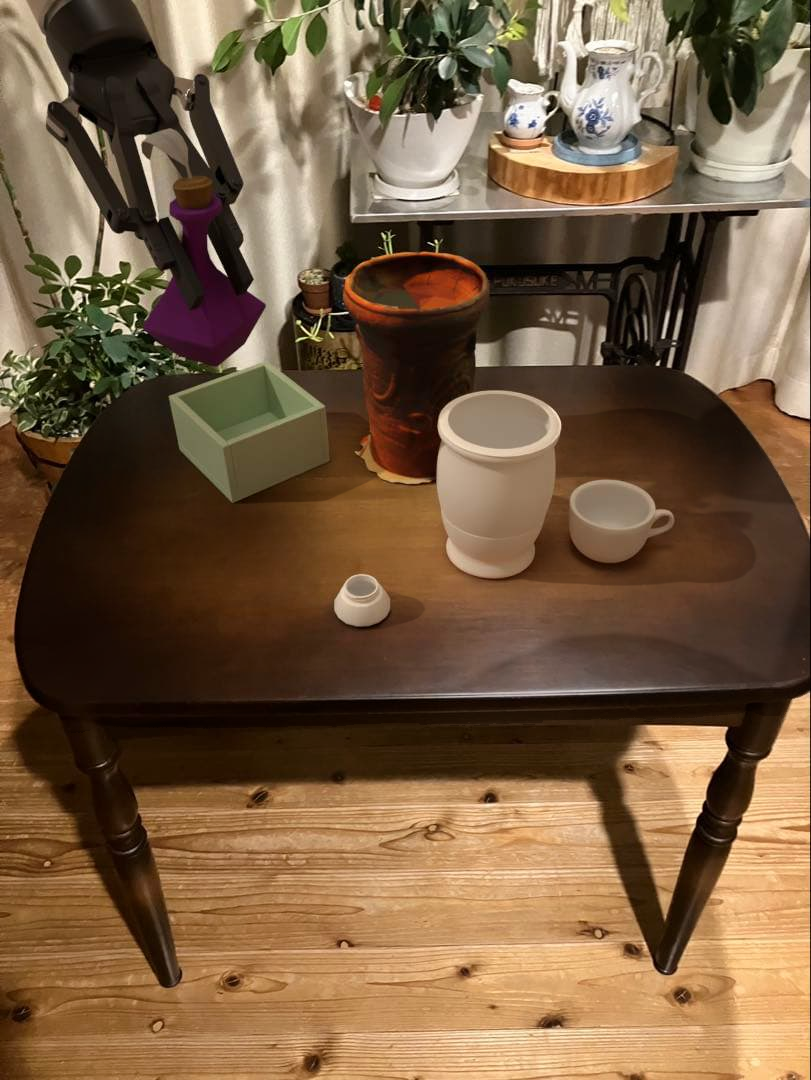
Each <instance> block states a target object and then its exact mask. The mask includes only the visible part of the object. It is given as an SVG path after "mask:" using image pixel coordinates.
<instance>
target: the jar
mask: <svg viewBox="0 0 811 1080" xmlns="http://www.w3.org/2000/svg"><path fill="white" fill-rule="evenodd" d="M561 430H562V422H561V418H560V416H559V415H558V413H557V412H556V410H555V409H553V407H551V406H550V405H549V404H547V403H546V402H544V401H543V400H541V399H538V398H536V397H534V396H532V395H528V394H526V393H522V392H516V391H510V390H496V389H495V390H492V389H491V390H482V391H473V393H470V394H467V395H464V396H461V397H459V398H456V399H455V400H453V401H451V402H450V403H448V404H447V405H446V406H445V407H444V408H443V409H442V411H441V413H440V415H439V419H438V432H439V435H440V437H441V439H442V441H441V444H440V448H439V453H438V460H437V471H436V479H435V480H436V491H437V497H438V501H439V505H440V513H441V521H442V523H443V527H444V529H445V532H446V534H447V536H448V537H447V540H446V542H445V543H446V544H445V545H446V546H445V549H446V554H447V556H448V558H449V560H450V561H451V563H452V564H453V565H454V566H455V567H457V569H459V570H461V571H462V572H464V573H466V574H469V575H470V576H475V577H477V578H478V577H479V578H484V579H504V578H509V577H512V576H515V575H517V574H520V573H522V572H523V571H525V569H527V568H528V567H529V566H530V565H531V564H532V563H533V560H534V558H535V555H536V546H535V544H534V543H535V542H536V541H537V538H538V537H539V535H540V533H541V530H543V529H542V528H543V526H544V523H545V519H546V516H547V512H548V510H549V507H550V504H551V501H552V499H553V498H552V497H553V494H554V488H555V483H556V452H555V451H556V450H555V446H556V445H557V443H558V442H559V440H560V436H561Z"/></svg>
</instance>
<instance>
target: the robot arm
mask: <svg viewBox="0 0 811 1080" xmlns="http://www.w3.org/2000/svg"><path fill="white" fill-rule="evenodd" d="M25 1H26V3H27V5H28V7H29V9H30V11H31V13H32V15H33V17H34V20H35V21H36V23H37V25H38V28H39V30H40V32H41V34H42V35H44V37H45V42H46V46H47V47H48V50H49V52H50V53H51V55H52V58H53V60H54V62H55V64H56V66H57V68H58V70H59V72H60V74H61V76H62V78H63V80H64V82H65V83H66V85H67V97H66V98H65V99H63V100H62V101H61V102H59V101H49V103H48V104H47V107H46V108H47V109H46V118H45V130H46V131H47V132H48V133H49V134H50V135H51V136H52V137H53V138H54V139H55V140H57V142H58V143H60V145H62V147H63V148H65V149H66V152H67V153H68V155H69V157H70V158H71V161H72V162H73V164H74V166H75V168H76V169H77V171H78V173H79V175H80V177H81V178H82V180H83V182H84V183H85V185H86V187H87V189H88V190H89V192H90V194H91V196H92V198H93V199H94V202H95V203H96V205H97V206H98V209H99V211H100V212H101V214H102V216H103V218H104V219H105V221H106V222H107V225H108V226H109V229H110V230H111V231H112V232H113V233H114V234H118V235H121V234H124V233H125V232H131V233H134V236H135V238H137V240H140V241H143V243H144V244H145V247H146V248H147V251H148V252H149V255H150V257H151V259H152V261H153V263H154V265H155V267H156V268H157V269H158V270H159V271H160V272H165V271H168V270H169V272H170V274H171V275H172V276H173V277H174V279H175V281H176V283H177V286H178V288H179V290H180V292H181V294H182V296H183V298H184V300H185V302H186V304H187V306H188V308H189V310H190V311H191V310H195V309H198V308H199V306H200V304H201V303H202V301H203V299H204V297H205V295H206V294H205V292H204V289H203V287H202V285H201V283H200V281H199V279H198V277H197V275H196V273H195V271H194V269H193V267H192V265H191V262H190V260H189V258H188V256H187V254H186V252H185V250H184V248H183V246H182V244H181V243H182V241H181V239H180V238H179V235H178V234H177V231H176V230H175V229H176V228H175V227H174V225H173V223H172V221H171V219H170V216H165V217H161V218H159V219H157V211H156V207H155V204H154V201H153V196H152V194H151V190H150V187H149V183H148V180H147V177H146V173H145V169H144V166H143V163H142V159H141V155H140V151H139V149H138V145H137V141H136V139H135V137H137V136H150V135H151V134H153V133H156V132H159V131H162V130H165V129H169V128H171V129H173V130H175V131H177V132H178V133H179V134H180V135H181V136H182V137H183V139H184V141H185V143H186V145H187V147H188V166H189V169H190V172H191V175H192V176H205V177H207V178H209V179H210V180H212V190H211V194H213V195H215V196H217V197H219V198H220V199H221V202H222V211H221V212H220V213H219V214H218V215H217V216H216V217H213V219H212V221H211V223H210V225H209V227H208V233H207V238H208V239H209V241H210V244H211V245H212V247H213V249H214V252H215V254H216V255H217V257H218V260H219V262H220V264H221V266H222V267H223V270H224V272H225V275H226V276H227V277H228V278H229V280H230V282H231V285H232V287H233V289H234V291H235V293H236V295H237V296H239V295H242V294H245V293H246V291H248V290H249V288H250V287H251V285H252V284H253V282H254V281H255V278H254V276H253V274H252V272H251V270H250V268H249V266H248V263H247V262H246V259H245V258H244V256H243V255H244V254H243V252H242V251H241V247H242V245H243V243H244V242H245V239H244V238H245V237H244V233H243V231H242V229H241V226H240V225H239V222H238V220H237V219H236V216H235V214H234V212H233V210H232V208H231V205H235V203H236V201H237V199H238V198H239V196H240V194H241V191H242V189H243V188H244V186H245V185H244V180H243V177H242V175H241V172H240V170H239V167H238V165H237V162H236V160H235V158H234V155H233V153H232V150H231V148H230V146H229V143H228V141H227V139H226V136H225V133H224V131H223V129H222V126H221V123H220V121H219V119H218V117H217V114H216V112H215V109H214V107H213V105H212V102H211V85H210V79H209V77H208V76H207V75H205V74H203V73H196V75H195V76H194V78H193V79H190V78H186V77H180V76H176V75H175V74H174V72H173V70H172V69H171V68H170V67H169V66H167V64H166V63H164V62H163V60H162V58H160V56H159V54H158V50H157V48H156V45H155V42H154V39H153V38H152V36H151V34H150V32H149V29H148V28H147V26H146V23H145V21H144V20H143V17H142V15H141V13H140V11H139V9H138V7H137V5H136V3H135V2H134V1H133V0H25ZM173 95H174V96H175V97H177V98H178V99H179V101H180V104H181V106H182V109H183V110H184V111H185V112H188V116H189V121H190V123H191V127H192V129H193V131H194V133H195V136H196V138H197V141H198V144H199V146H200V148H201V151H202V153H203V156H204V157H205V159H204V158H203V157H202V155H201V153H200V152H199V150H198V149H197V148H196V146H195V144H194V143H193V141H192V140H191V139H190V137H189V136H188V134H187V133H186V132H185V130H184V129H183V127H182V126H181V123H180V118H179V116H178V114H177V113H176V112H175V110H174V108H173V107H172V105H171V104H172V101H173V100H172V99H173ZM82 117H83V118H84V119H85V120H87V121H89V122H90V123H92V124H93V125H95V126H96V127H97V128H99V129H100V130H102V131H104V132H105V134H106V137H107V141H108V144H109V148H110V151H111V154H112V155H113V156H114V159H115V162H116V166H117V170H118V172H119V176H120V179H121V183H122V186H123V190H124V194H125V197H126V200H125V198H124V196H123V195H122V193H121V191H120V189H119V187H118V186H117V184H116V182H115V180H114V178H113V177H112V174H111V173H110V171H109V170H108V167H107V166H106V164H105V161H104V160H103V159H102V157H101V155H100V153H99V151H98V149H97V148H96V146H95V144H94V142H93V140H92V139H91V137H90V135H89V133H88V132H87V130H86V129H85V127H84V126H83V118H82ZM166 156H167V157H168V159H169V160H170V161H171V163H172V164H173V166H174V167H175V169H176V170H177V172H178V174H179V175H180V176H181V178H185V177H188V174H187V170H186V168H185V166H184V165H183V164H181V163H179V162H178V161H176V160H175V159H173V158H172V157H170V156H169V155H167V154H166Z"/></svg>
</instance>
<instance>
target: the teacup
mask: <svg viewBox="0 0 811 1080" xmlns="http://www.w3.org/2000/svg"><path fill="white" fill-rule="evenodd" d="M568 509H569V510H568V529H569V534H570V538H571V540H572V543H573V545H574V546H575V548H576V549H577V550H578V551H579V552H580V553H581V554H582V555H584V557H587V558H588V559H590V560H592V561H595V562H598V563H604V564H616V563H622V562H625V561H627V560H629V559H631V558H633V557H635V555H637V553H639V551H640V550H641V549H642V548H643V547H644V545H645V544H646V542H647V539H649V538H652V537H654V536H657V535H661V534H663V533H665V532H667V531H669V530H671V529H672V527H673V526H674V523H675V516H674V513H672V512H671V511H670V510H668V509H663V508H660V509H656V504H655V501H654V499H653V497H652V496H651V495H650V494H649V493H648V492H647V491H645V490H644V489H642V488H641V487H639V486H637V485H635V484H633V483H630V482H627V481H622V480H617V479H596V480H592V481H588V482H586V483H583V484H580V485H579V486H577V487H576V488H575V489H574V490H573V491H572V493H571V494H570V497H569V507H568ZM664 516H666V517H668V518H669V519H668V522H667V523H666V524H664V525H663V526H661V527H656V528H652V526H653V525H654V523H655V522H656V521H657V520H658V519H660V518H661V517H664Z"/></svg>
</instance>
